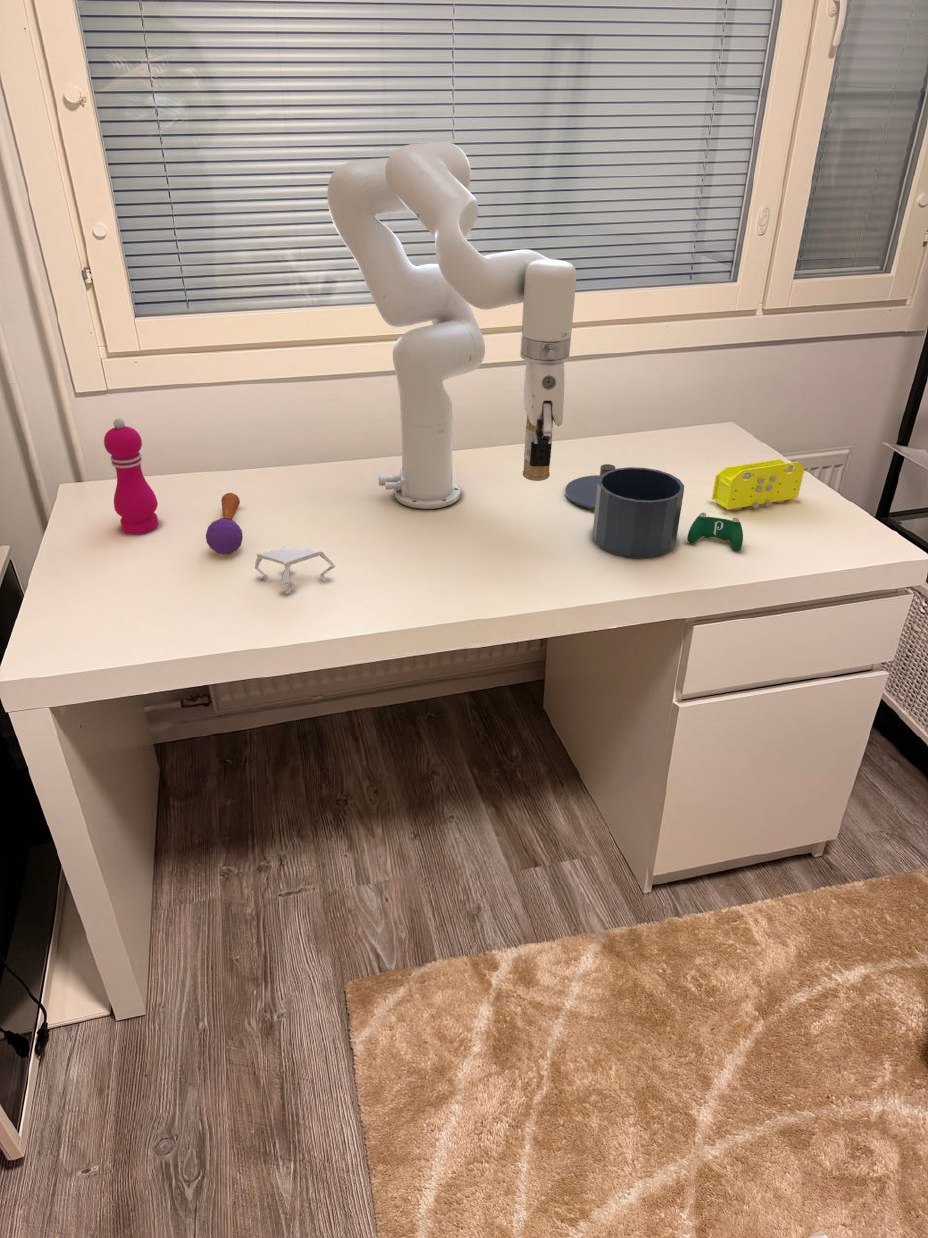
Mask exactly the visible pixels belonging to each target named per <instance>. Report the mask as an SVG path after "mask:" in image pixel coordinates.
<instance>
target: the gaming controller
mask: <svg viewBox="0 0 928 1238" xmlns="http://www.w3.org/2000/svg"><path fill="white" fill-rule="evenodd" d="M701 537H703V538H706V539H710V538H711V539H718V540H721V541H723V542H724V541H728V542H729V544H730V546H731V549H732V550H733V551H737V552H738V551H741V550H742V547H743V542H744V532H743V526H742V524H741V520H740V519H739V518H738V517H736V516H734V517H733V518H732V519H728V518H727V519H726V518H721V517H715V516H714V517H713V516H707V513H706V512H701V513H699V515H697V517H696V518H695V520H693V522H692V524H691V525H690V527H689V530H688V534H687V540H686V541H687V543H688V544H692V545H693V544H696V543H697V542H698V541H699V540H700V539H701Z"/></svg>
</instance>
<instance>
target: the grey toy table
mask: <svg viewBox="0 0 928 1238" xmlns="http://www.w3.org/2000/svg"><path fill="white" fill-rule="evenodd" d="M317 557H320V558H322V559H323V560H324V561H325V562H326V563H328V564H329V565H330V566H329V567H327V568H326V569H325V570H324V571H322V572H321V573H320V577H321V580H322V582H324V583H325V582H327V578H326V577H325V574H326V573H328V572H330V571H331V570H333V569H335V568H336V565H335V564H334V563H333V562H332V561H331V559H330V558H329V557H328V555H326V554H325V553H324V552H323V551H321V550H316V549H311V548H307V547H289V546H283V547H279V548H275V549H271V550H268V551H264V552H260V553H256V559H255V561H254V569H255V570H256V571H257V572H258V573H260V574H261V575H262V577H261V578H260V579H261V580H265V579H266V578H267V577H268V575H267V574H266V573H265V572H264V571H263V570H262V569H261V568H260V567H259V566H260V564H261V562H262V561H263V560H267V561H271V562H274V563H278V564H280V565H283V566H284V571H283V574H282V578H281V584H282V585H287V588H286V590H285V592H284V594H285V595H288V594H290V593H291V592H292V589H293V587H294V583H293V582H292V581H290V580H289V578H290V577H289V576H290V573H291V566H292V565H295V564H298V563H301V562H305V561H308V560H311V559H313V558H317Z"/></svg>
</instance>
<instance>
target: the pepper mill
mask: <svg viewBox="0 0 928 1238" xmlns="http://www.w3.org/2000/svg"><path fill="white" fill-rule="evenodd" d="M112 424H113V427H112V428H110V429H109V430H108V431H107V432H106V433H105V434H104V437H103V445H104V448H105V450H106V452H107V453H108V454H110V455H111V456H110V461H111V465H112V466H113V468H114V469H115V472H116V487H115V491H114V495H113V508H114V511H115V513H116V514H117V515H118V516H119V517H121V518H120V521H119V522H120V526H121V529H122V531H123V532H124V533H126V534H130V535H142V534H143V535H144V534H146V533H151V532H152V531H154V530H156V529H157V528H158V527H159V524H160V523H159V519H158V514H157V513H156V510H157V508H158V505H159V504H158V500H157V497H156V494H155V492H154V490H153V489H152V488H151V486H150V484H149V483H148V482H147V479H146V478H145V476H144V474H143V470H142V465H141V464H142V463H143V458H142V453H141V452H140V451H141V449H142V447H143V440H142V437H141V435H140V434H139V433H140V432H138V431H137V430H136V429H135V428H133V427H131V426H127V425H126V422H125V420H124V419H122V418H119V417H118V418H115V419H114V420H113V423H112Z"/></svg>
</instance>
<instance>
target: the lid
mask: <svg viewBox="0 0 928 1238" xmlns="http://www.w3.org/2000/svg"><path fill="white" fill-rule="evenodd" d="M614 469H616V466H615V465H614V464H610V463H605V464H602V465H600V469H599V474H598V475H597V474H596V475H595V474H593V475H586V476H581V477H577V478H575V479H572V480H571V481H569V482H568V483H567V484H566V486H565V489H564V491H565V492H564V493H565V496H566V497H567V499H568V500H570V501H571V502H573V503H574V504H576V505H578V506H581V507H583V508H586V509H587V508H588V509H591V510H595V504H596V494H597V484H598V480H599V477H600V476H601V475H602V474H604V473H605V472H607V471H611V470H614Z"/></svg>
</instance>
